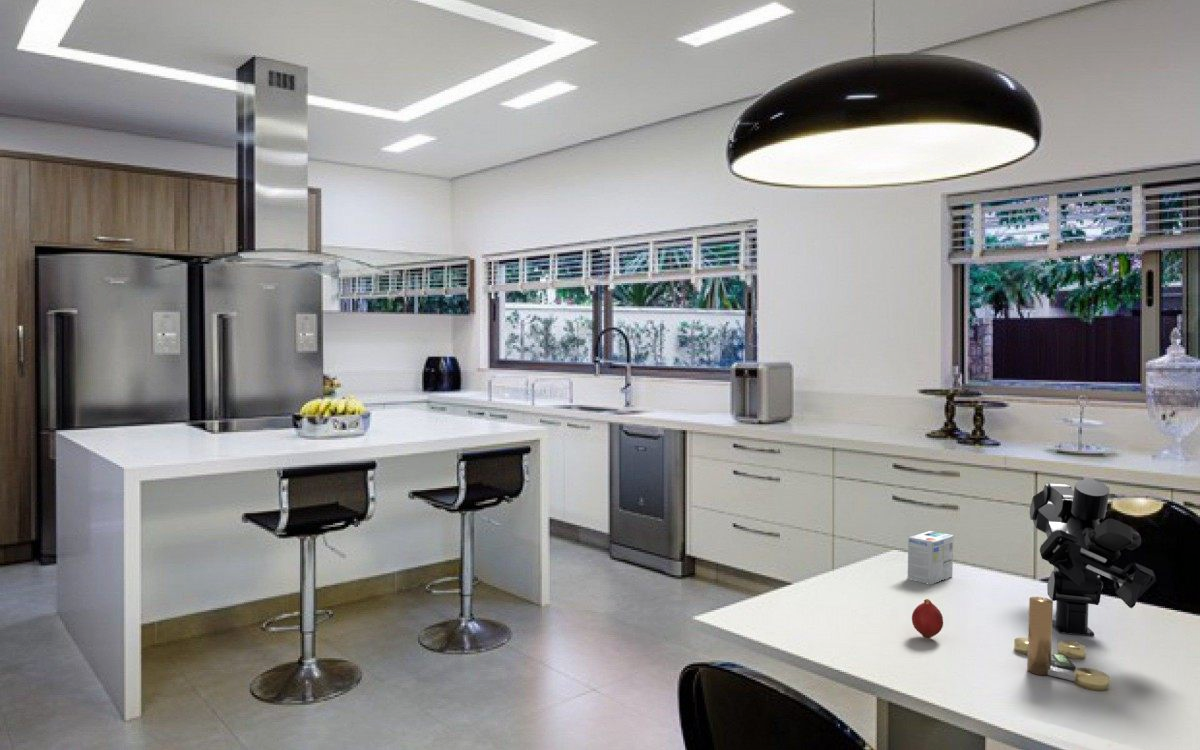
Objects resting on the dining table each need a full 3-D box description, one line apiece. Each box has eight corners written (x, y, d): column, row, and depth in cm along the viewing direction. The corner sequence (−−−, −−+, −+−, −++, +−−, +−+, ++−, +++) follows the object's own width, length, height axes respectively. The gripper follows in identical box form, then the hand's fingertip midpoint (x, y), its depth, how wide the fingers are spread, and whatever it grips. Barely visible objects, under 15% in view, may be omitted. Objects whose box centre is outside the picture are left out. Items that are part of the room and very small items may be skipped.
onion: (917, 630, 166) (918, 592, 166) (946, 637, 162) (947, 598, 162) (907, 638, 162) (908, 599, 161) (937, 646, 158) (938, 605, 157)
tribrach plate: (986, 647, 157) (987, 632, 157) (1101, 657, 153) (1101, 641, 153) (1016, 692, 138) (1016, 674, 138) (1148, 704, 133) (1149, 686, 133)
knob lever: (1110, 683, 138) (1113, 609, 138) (1106, 693, 134) (1109, 617, 134) (1030, 664, 146) (1032, 594, 145) (1024, 673, 142) (1026, 601, 141)
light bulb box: (927, 571, 208) (929, 529, 208) (953, 577, 203) (954, 534, 203) (906, 579, 201) (907, 536, 201) (932, 585, 196) (933, 541, 196)
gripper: (1066, 489, 153) (1084, 541, 140) (1163, 531, 151) (1190, 587, 138) (1032, 530, 159) (1046, 583, 146) (1124, 571, 157) (1147, 629, 144)
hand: (1107, 595), depth 143 cm, fingers open, 9 cm apart
